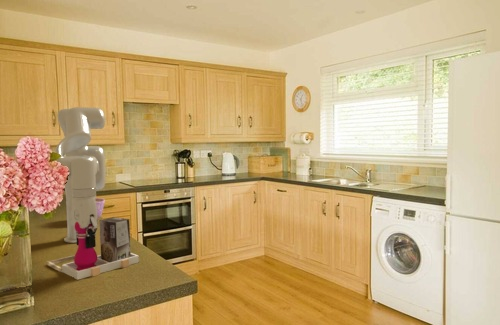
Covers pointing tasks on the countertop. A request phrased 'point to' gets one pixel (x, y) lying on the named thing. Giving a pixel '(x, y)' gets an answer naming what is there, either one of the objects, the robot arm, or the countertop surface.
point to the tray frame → (52, 263)
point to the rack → (98, 267)
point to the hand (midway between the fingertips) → (86, 245)
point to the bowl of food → (99, 206)
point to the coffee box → (115, 239)
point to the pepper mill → (84, 251)
